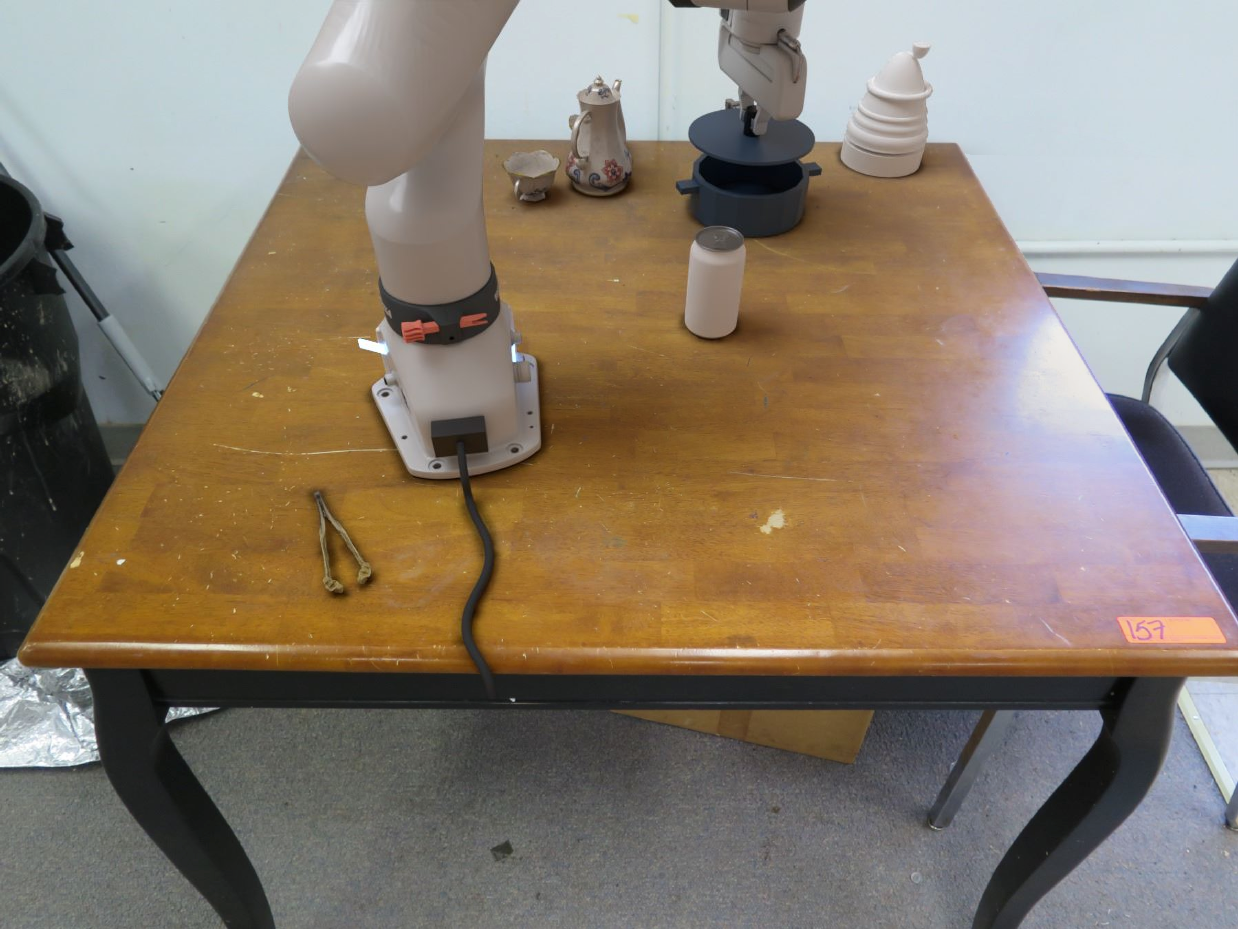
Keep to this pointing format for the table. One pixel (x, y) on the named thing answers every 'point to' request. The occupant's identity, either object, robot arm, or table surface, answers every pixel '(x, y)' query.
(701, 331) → the can
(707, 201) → the pot
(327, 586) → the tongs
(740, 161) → the lid
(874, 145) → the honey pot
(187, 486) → the table surface
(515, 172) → the chinaware
